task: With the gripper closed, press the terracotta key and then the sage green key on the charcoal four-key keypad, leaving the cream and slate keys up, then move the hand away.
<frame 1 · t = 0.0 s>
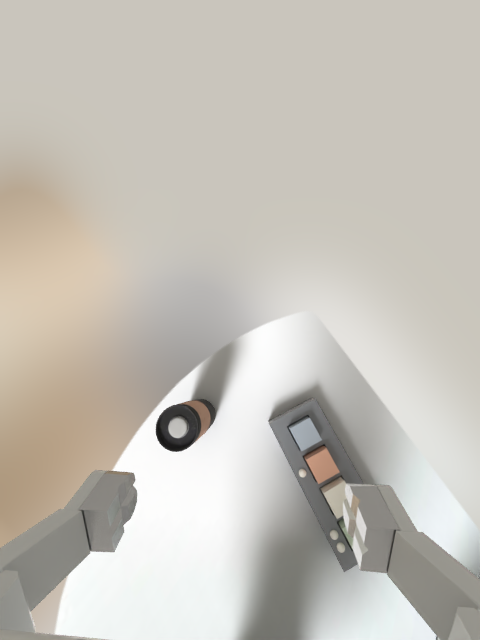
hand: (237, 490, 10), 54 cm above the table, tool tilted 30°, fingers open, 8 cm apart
slate key: (304, 432, 56), point 4 cm above the table, slide at 0.0 cm
sage key: (356, 530, 51), point 4 cm above the table, slide at 0.0 cm
keypad: (323, 472, 57), on the table
cream key: (337, 495, 52), point 4 cm above the table, slide at 0.0 cm
terracotta key: (320, 463, 54), point 4 cm above the table, slide at 0.0 cm
travel mug: (201, 414, 62), on the table
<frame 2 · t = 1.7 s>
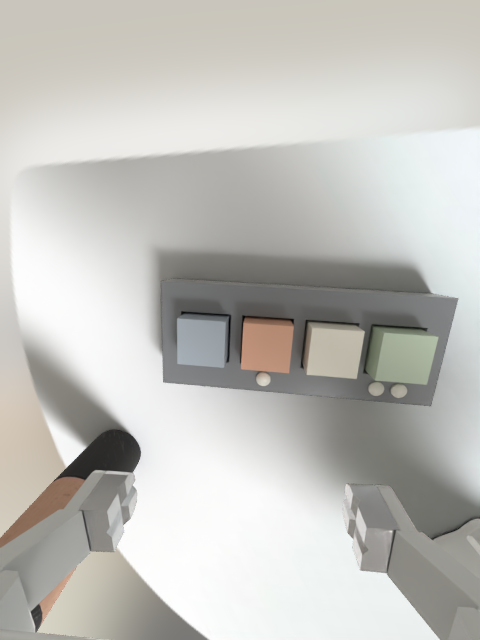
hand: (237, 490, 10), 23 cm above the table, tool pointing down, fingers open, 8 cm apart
slate key: (205, 337, 28), point 4 cm above the table, slide at 0.0 cm
sage key: (395, 352, 27), point 4 cm above the table, slide at 0.0 cm
keypad: (293, 333, 31), on the table
cream key: (329, 347, 27), point 4 cm above the table, slide at 0.0 cm
terracotta key: (266, 342, 28), point 4 cm above the table, slide at 0.0 cm
travel mug: (119, 449, 38), on the table
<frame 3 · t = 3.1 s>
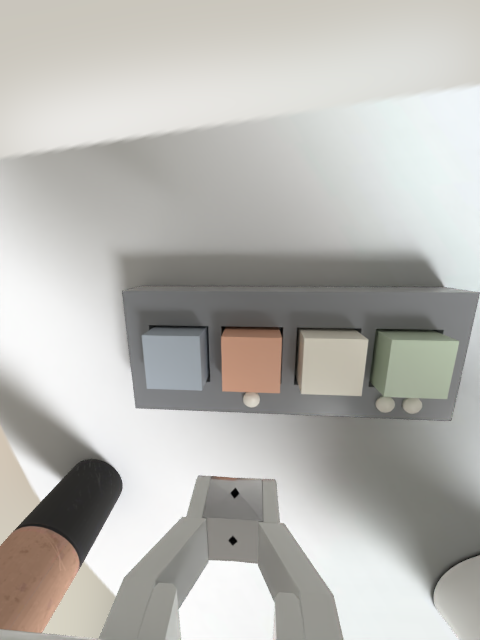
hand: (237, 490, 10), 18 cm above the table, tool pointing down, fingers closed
slate key: (179, 354, 24), point 4 cm above the table, slide at 0.0 cm
sage key: (406, 360, 22), point 4 cm above the table, slide at 0.0 cm
keypad: (284, 342, 27), on the table
cream key: (327, 358, 23), point 4 cm above the table, slide at 0.0 cm
terracotta key: (251, 356, 23), point 4 cm above the table, slide at 0.0 cm
travel mug: (98, 480, 34), on the table
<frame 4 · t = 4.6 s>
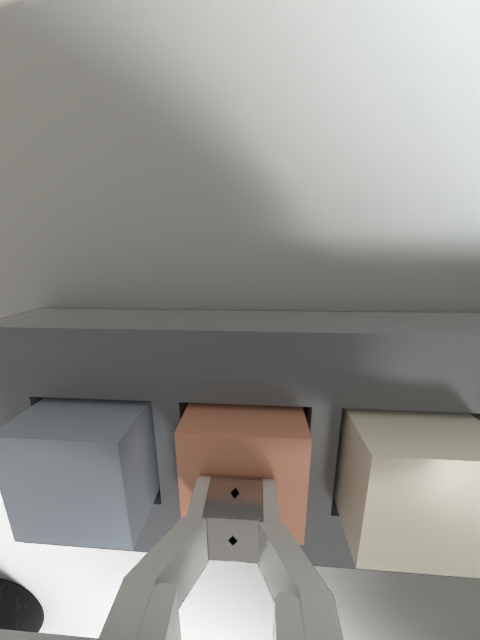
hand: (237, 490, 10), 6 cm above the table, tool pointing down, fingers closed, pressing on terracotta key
slate key: (95, 456, 11), point 4 cm above the table, slide at 0.0 cm
keypad: (305, 410, 15), on the table
cream key: (405, 472, 11), point 4 cm above the table, slide at 0.0 cm
terracotta key: (244, 452, 12), point 4 cm above the table, slide at 0.7 cm, touching gripper
travel mug: (6, 604, 22), on the table
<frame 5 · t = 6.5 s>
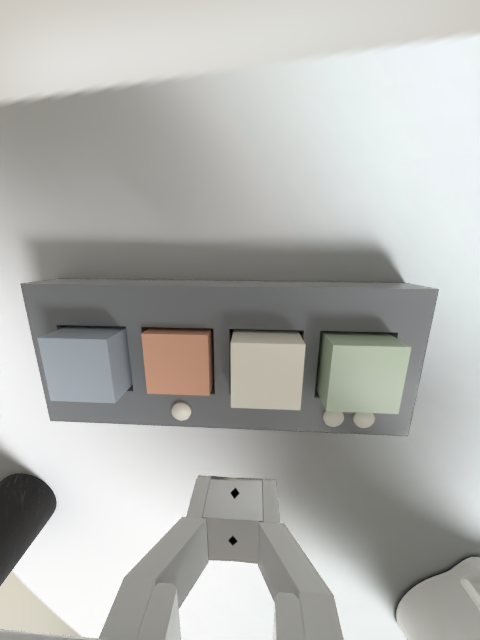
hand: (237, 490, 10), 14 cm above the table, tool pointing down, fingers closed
slate key: (94, 360, 20), point 4 cm above the table, slide at 0.0 cm
sage key: (355, 367, 19), point 4 cm above the table, slide at 0.0 cm
keypad: (227, 344, 24), on the table
cream key: (265, 365, 19), point 4 cm above the table, slide at 0.0 cm
terracotta key: (183, 355, 21), point 3 cm above the table, slide at 1.5 cm
travel mug: (29, 495, 30), on the table
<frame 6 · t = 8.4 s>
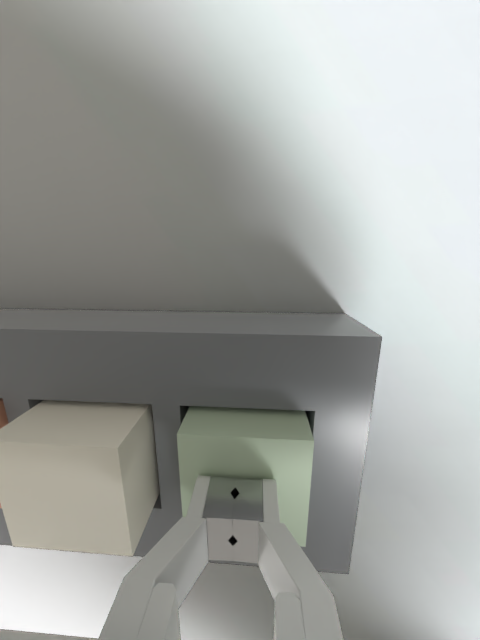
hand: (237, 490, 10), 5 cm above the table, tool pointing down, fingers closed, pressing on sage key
sage key: (246, 453, 12), point 3 cm above the table, slide at 0.8 cm, touching gripper
keypad: (85, 404, 16), on the table
cream key: (94, 459, 11), point 4 cm above the table, slide at 0.0 cm
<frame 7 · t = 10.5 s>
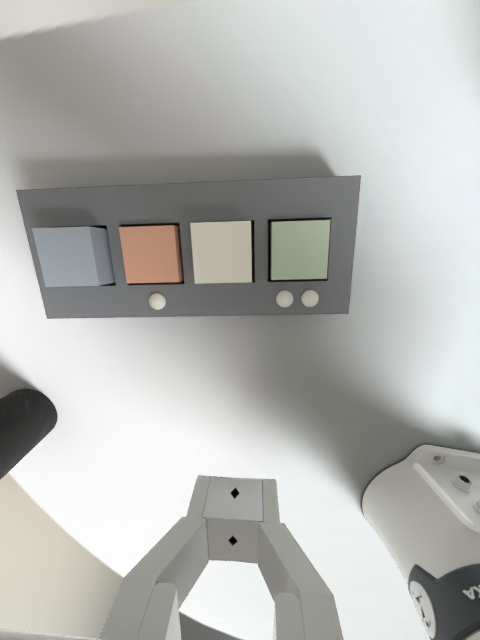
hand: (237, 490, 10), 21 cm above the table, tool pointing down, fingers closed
slate key: (81, 257, 24), point 4 cm above the table, slide at 0.0 cm
sage key: (296, 250, 24), point 3 cm above the table, slide at 1.5 cm
keypad: (197, 253, 27), on the table
cream key: (224, 253, 23), point 4 cm above the table, slide at 0.0 cm
terracotta key: (157, 254, 25), point 3 cm above the table, slide at 1.5 cm
travel mug: (33, 411, 34), on the table
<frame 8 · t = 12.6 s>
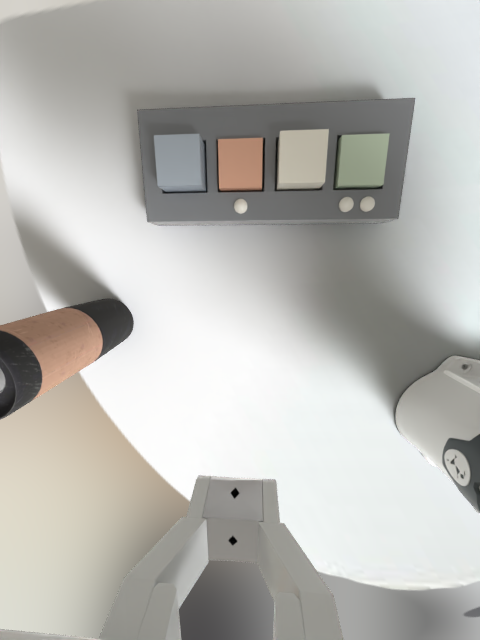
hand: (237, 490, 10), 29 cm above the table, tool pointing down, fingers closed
slate key: (183, 166, 30), point 4 cm above the table, slide at 0.0 cm
sage key: (356, 166, 30), point 3 cm above the table, slide at 1.5 cm
keypad: (268, 175, 33), on the table
cream key: (299, 163, 29), point 4 cm above the table, slide at 0.0 cm
terracotta key: (241, 169, 31), point 3 cm above the table, slide at 1.5 cm
travel mug: (112, 320, 40), on the table
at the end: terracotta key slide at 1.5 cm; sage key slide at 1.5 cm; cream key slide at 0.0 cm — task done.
